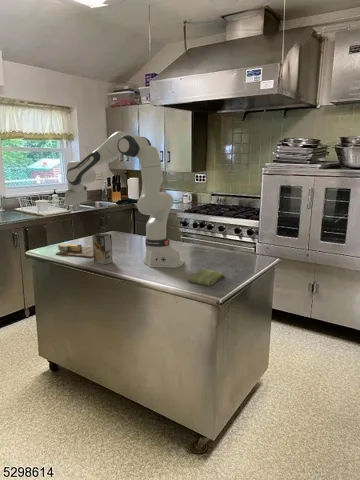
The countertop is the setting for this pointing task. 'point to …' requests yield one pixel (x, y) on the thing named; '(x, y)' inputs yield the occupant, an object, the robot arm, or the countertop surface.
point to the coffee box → (102, 248)
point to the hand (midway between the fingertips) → (76, 210)
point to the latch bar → (72, 247)
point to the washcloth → (205, 277)
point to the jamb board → (76, 252)
